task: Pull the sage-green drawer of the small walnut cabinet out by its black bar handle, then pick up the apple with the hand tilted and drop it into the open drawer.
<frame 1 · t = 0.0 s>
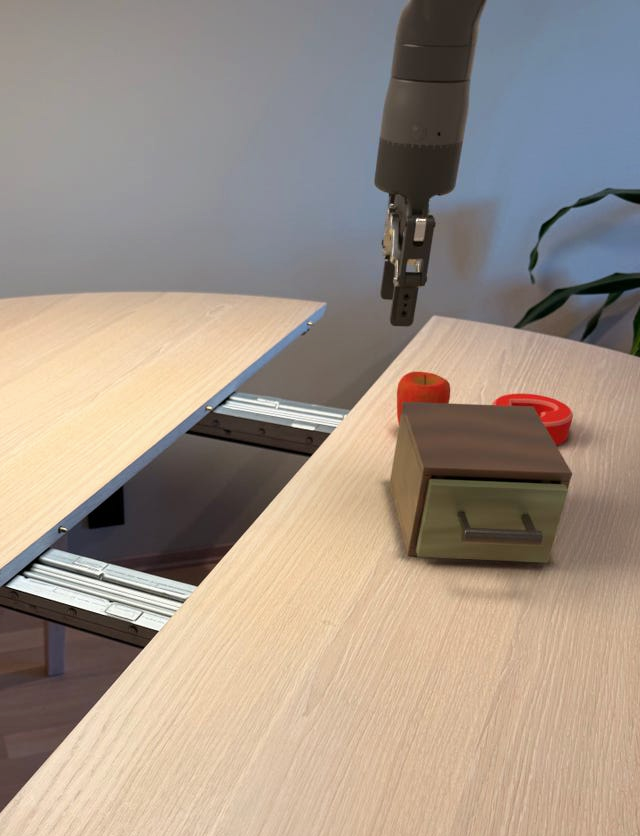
hand: (395, 311, 99), 19 cm above the table, tool pointing down, fingers open, 8 cm apart
drawer: (481, 500, 98), point 5 cm above the table, slide at 0.5 cm
cabinet: (463, 520, 104), on the table
apple: (415, 434, 122), on the table
decorative ornament: (526, 432, 123), on the table
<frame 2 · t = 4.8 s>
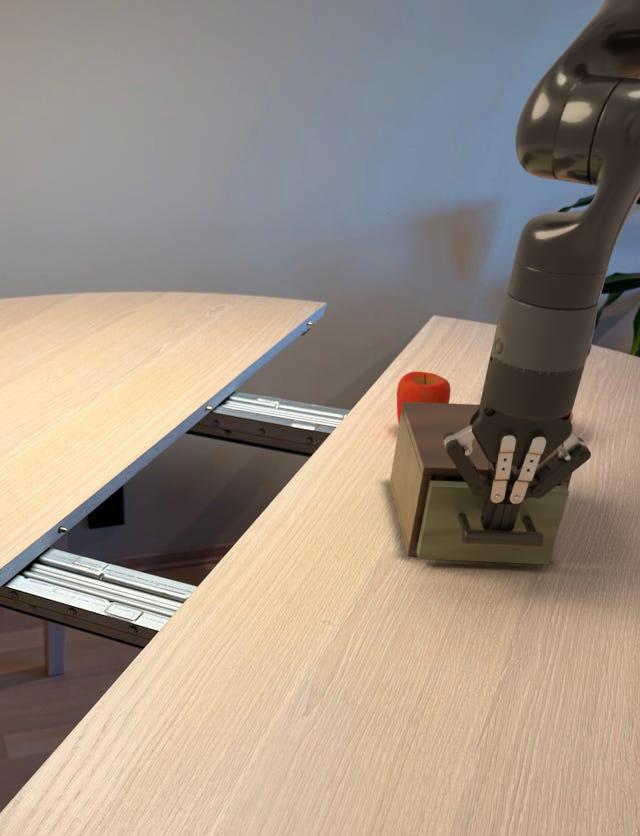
hand: (494, 533, 92), 5 cm above the table, tool pointing down, fingers closed
drawer: (481, 501, 98), point 5 cm above the table, slide at 0.8 cm
everything else where it was.
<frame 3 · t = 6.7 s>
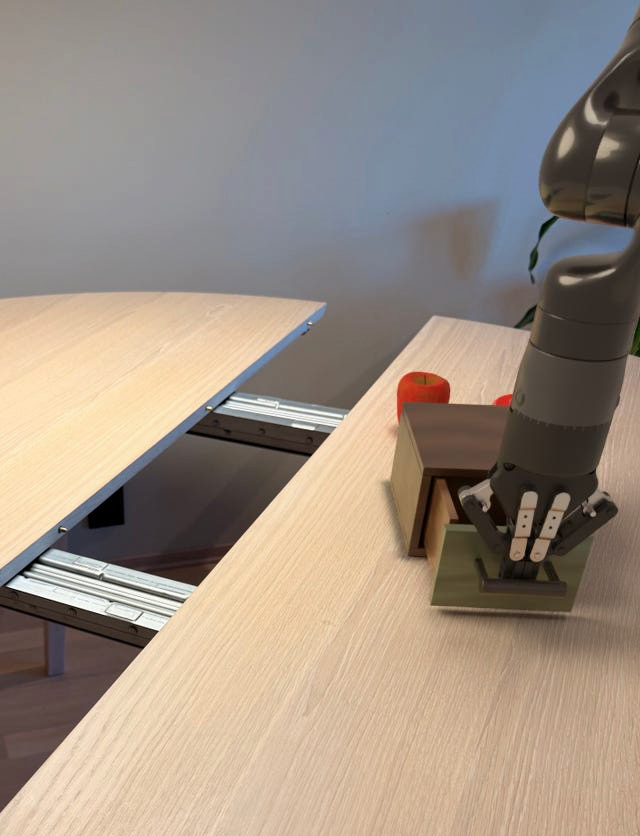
hand: (512, 591, 85), 4 cm above the table, tool pointing down, fingers closed
drawer: (498, 543, 91), point 5 cm above the table, slide at 9.1 cm, touching gripper
everything else where it was.
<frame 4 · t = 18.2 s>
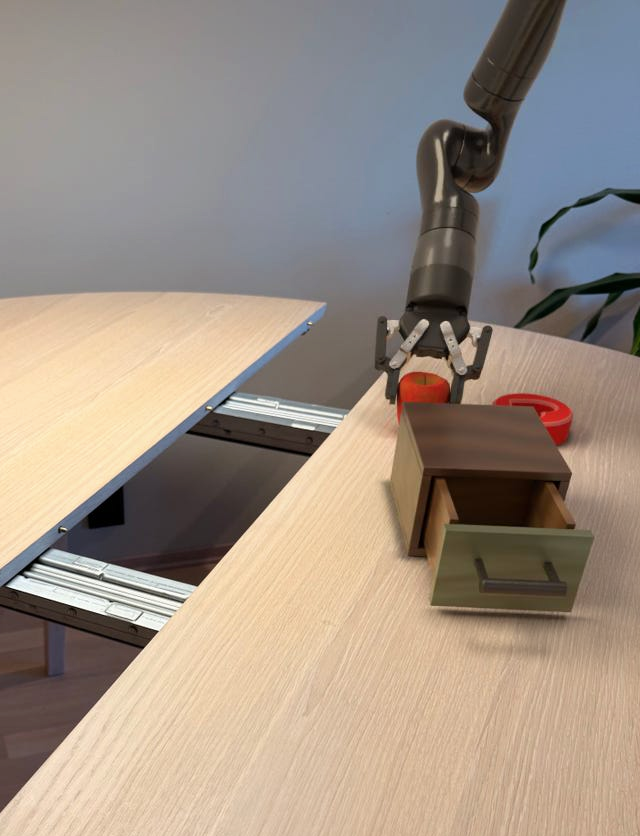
hand: (422, 404, 118), 4 cm above the table, tool tilted 45°, fingers closed on apple, 6 cm apart
drawer: (498, 544, 91), point 5 cm above the table, slide at 9.1 cm
apple: (415, 434, 122), on the table, touching gripper
everything else where it was.
when the fingers open (10 cm above the table, at t = 27.3 s): apple drops 4 cm, resting on drawer.
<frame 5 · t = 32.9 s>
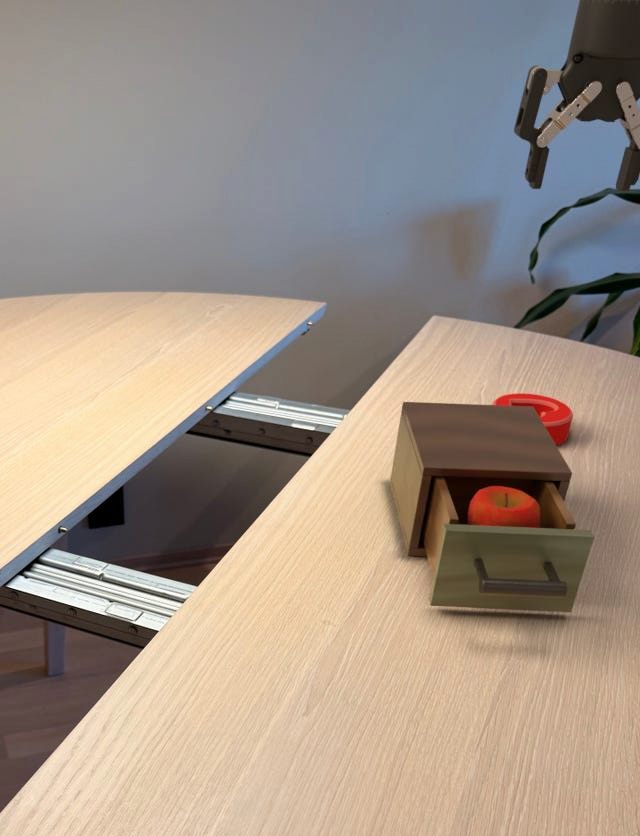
hand: (578, 188, 97), 30 cm above the table, tool pointing down, fingers open, 8 cm apart
drawer: (498, 544, 91), point 5 cm above the table, slide at 9.1 cm, touching apple
apple: (491, 565, 93), point 2 cm above the table, touching drawer
everything else where it was.
at the end: drawer slide at 9.1 cm; apple inside the target area in the drawer (0.2 cm from its centre), point 1.9 cm above the cabinet's base; apple touching drawer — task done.
